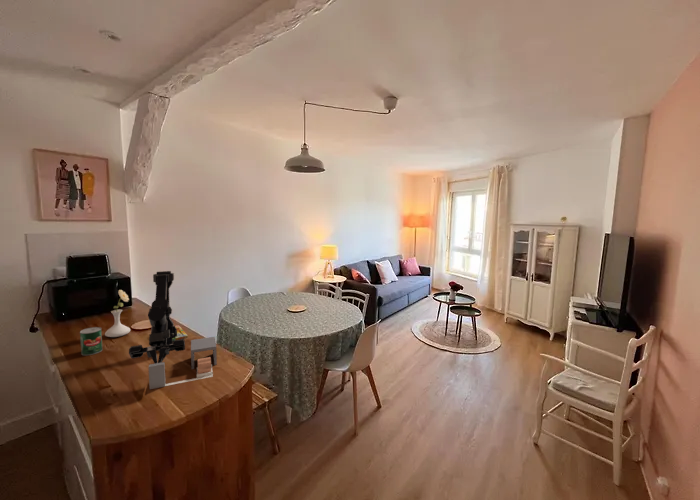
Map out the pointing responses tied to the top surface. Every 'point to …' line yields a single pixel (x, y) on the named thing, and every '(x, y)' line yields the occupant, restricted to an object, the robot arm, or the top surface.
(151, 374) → the grey white bent piece
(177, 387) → the top surface
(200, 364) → the block
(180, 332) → the puzzle game
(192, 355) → the tunnel
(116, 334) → the flower in vase
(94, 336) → the canned tomato
